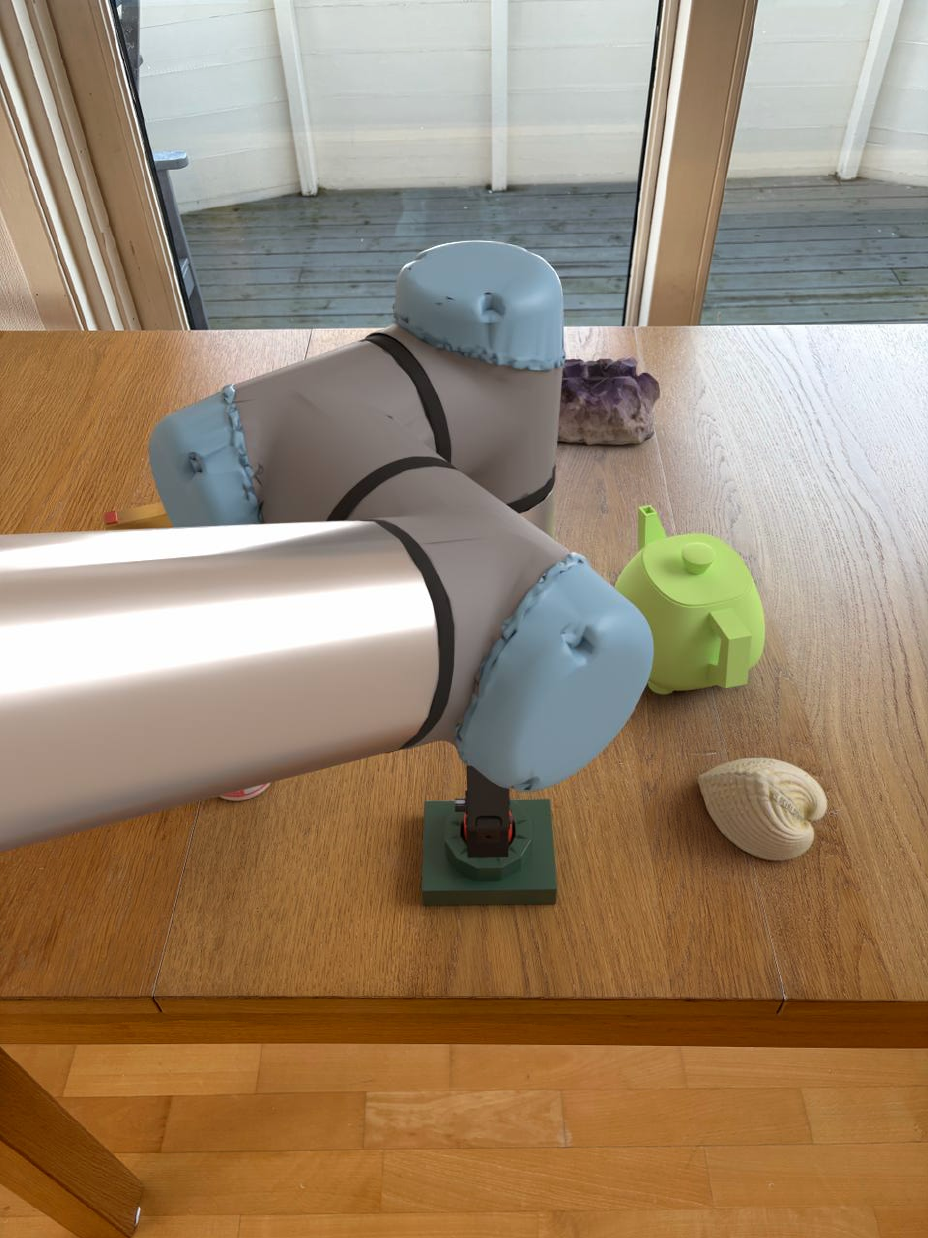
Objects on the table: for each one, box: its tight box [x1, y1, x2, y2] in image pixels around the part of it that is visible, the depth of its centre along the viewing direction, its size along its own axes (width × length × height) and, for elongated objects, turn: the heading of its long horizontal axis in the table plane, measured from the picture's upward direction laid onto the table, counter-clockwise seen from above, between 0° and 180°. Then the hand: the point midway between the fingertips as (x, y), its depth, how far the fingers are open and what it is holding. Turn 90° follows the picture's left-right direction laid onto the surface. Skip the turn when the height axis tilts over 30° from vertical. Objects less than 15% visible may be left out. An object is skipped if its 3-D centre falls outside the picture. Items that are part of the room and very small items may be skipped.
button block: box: [420, 798, 558, 907], centre depth 73 cm, size 10×8×4 cm
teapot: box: [613, 504, 766, 695], centre depth 85 cm, size 20×13×13 cm
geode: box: [557, 356, 661, 446], centre depth 114 cm, size 20×12×10 cm, turn 87°
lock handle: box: [102, 501, 174, 530], centre depth 90 cm, size 6×2×9 cm, turn 109°
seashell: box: [697, 757, 828, 861], centre depth 74 cm, size 8×8×8 cm
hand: (485, 779), depth 67 cm, fingers open, 11 cm apart
